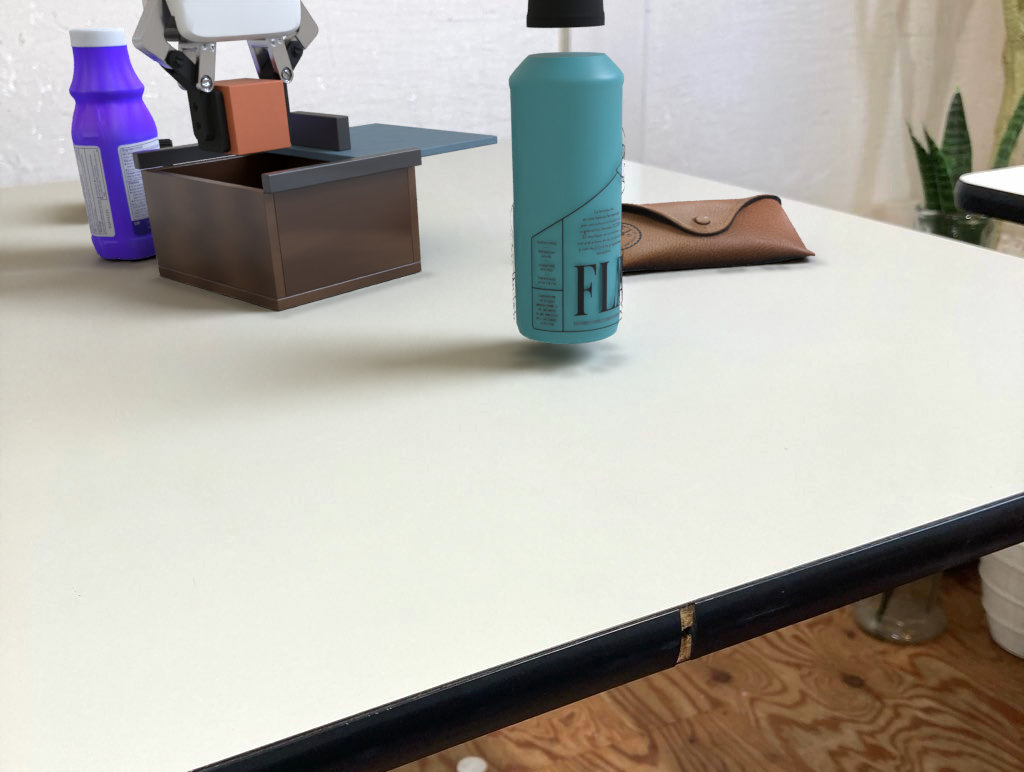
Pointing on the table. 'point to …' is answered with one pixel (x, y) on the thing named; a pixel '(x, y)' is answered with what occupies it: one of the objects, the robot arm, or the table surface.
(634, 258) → the sunglasses case
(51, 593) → the table surface
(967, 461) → the table surface
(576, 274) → the beverage bottle
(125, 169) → the bottle
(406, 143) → the lid
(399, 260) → the box
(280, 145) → the block
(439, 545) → the table surface
